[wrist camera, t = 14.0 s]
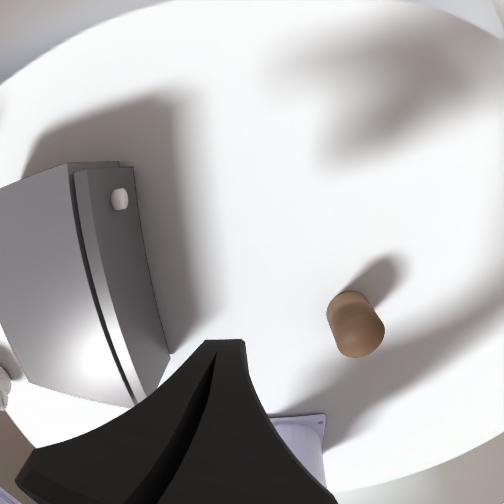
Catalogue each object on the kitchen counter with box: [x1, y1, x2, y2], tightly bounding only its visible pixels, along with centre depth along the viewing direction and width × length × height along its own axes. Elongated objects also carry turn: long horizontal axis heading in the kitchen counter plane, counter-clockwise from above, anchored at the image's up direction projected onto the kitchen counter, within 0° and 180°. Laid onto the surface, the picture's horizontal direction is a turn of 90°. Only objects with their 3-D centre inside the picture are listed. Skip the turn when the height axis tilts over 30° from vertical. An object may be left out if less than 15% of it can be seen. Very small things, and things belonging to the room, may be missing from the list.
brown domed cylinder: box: [327, 291, 385, 358], centre depth 18 cm, size 3×3×4 cm
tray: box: [74, 167, 170, 403], centre depth 17 cm, size 15×12×5 cm
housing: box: [0, 161, 138, 408], centre depth 17 cm, size 16×12×6 cm
